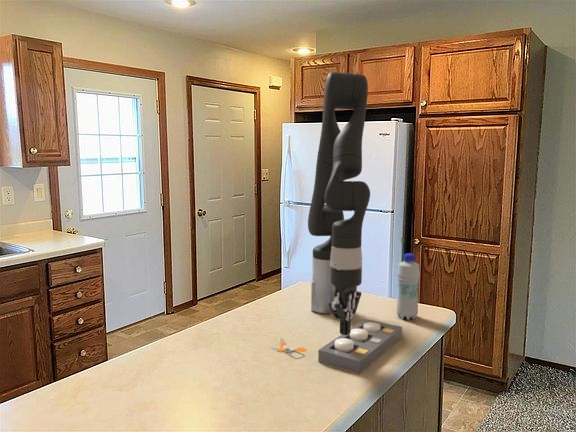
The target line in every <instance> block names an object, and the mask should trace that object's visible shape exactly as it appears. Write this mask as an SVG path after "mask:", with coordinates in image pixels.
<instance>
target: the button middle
mask: <svg viewBox="0 0 576 432" xmlns="http://www.w3.org/2000/svg"><path fill="white" fill-rule="evenodd" d="M350 339H351V340H355V341H359V342H363V343H364V342H366V341H367V340H368V332H367V331H366V330H364V329H352V330H351V331H350Z"/></svg>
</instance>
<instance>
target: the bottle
mask: <svg viewBox="0 0 576 432" xmlns="http://www.w3.org/2000/svg"><path fill="white" fill-rule="evenodd" d="M420 276H421V272H420V264H419V263H417V262H416V255H415V254H413V253H410V252H409V253H408V252H407V253H405V254H404V255H403V261H401V262H399V263H398V267H397V280H398V281H397V282H398V283H397V300H396V301H397V302H396V314H397V317H399V318H400V319H402V320H404V319H405V317H406V320H415V318H416V317H418V313H419V312H418V311H419V302H418V301H419V300H418V298H419V297H418V296H419V281H420Z"/></svg>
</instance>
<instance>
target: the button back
mask: <svg viewBox="0 0 576 432" xmlns="http://www.w3.org/2000/svg"><path fill="white" fill-rule="evenodd" d="M380 328H381V326H380V324H378V323H374V322H368V323H364V325H363V329H364V330H367V331H372V332H376V333H378V332H379V331H380Z"/></svg>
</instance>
